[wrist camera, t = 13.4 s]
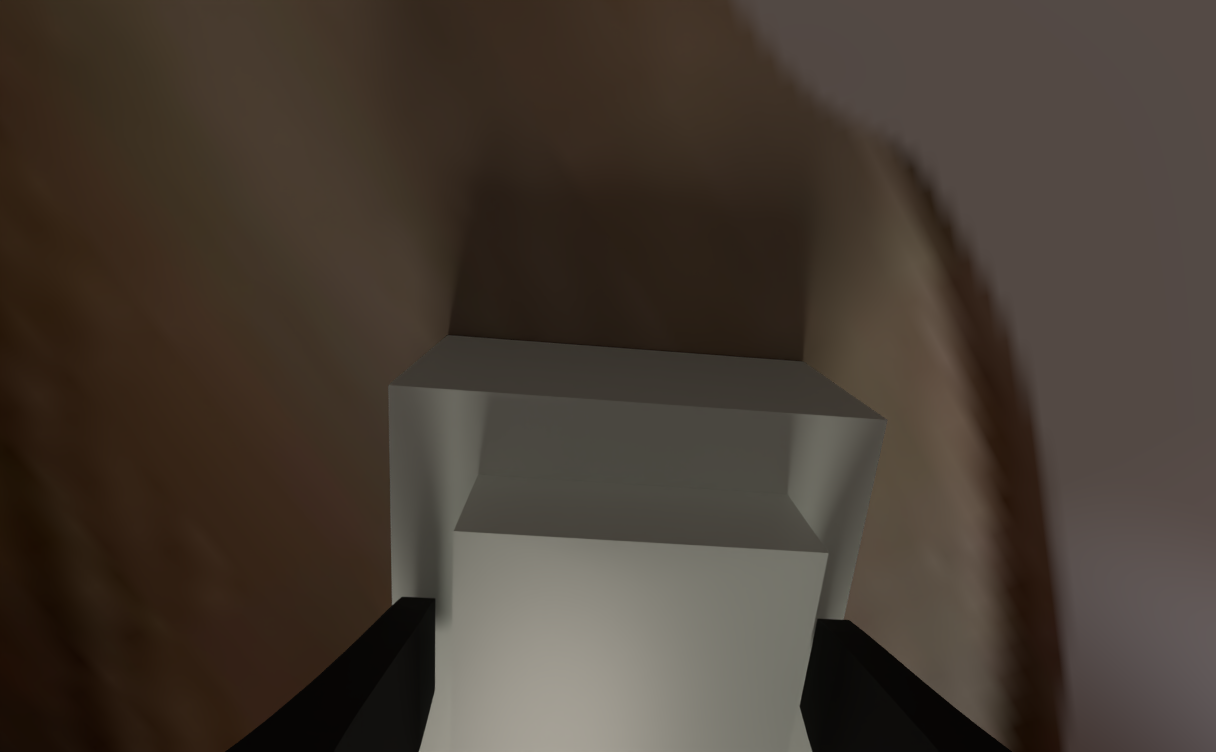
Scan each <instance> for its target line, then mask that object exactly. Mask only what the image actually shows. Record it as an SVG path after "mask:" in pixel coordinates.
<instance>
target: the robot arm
mask: <svg viewBox="0 0 1216 752" xmlns="http://www.w3.org/2000/svg"><path fill="white" fill-rule="evenodd" d="M434 692H435V598H419V597H401V598H400V599H399V600H397V601H396V602H395V603H394V604H393V605H392V606H391V607H390V608H389V609H388V610H387V611H386V612H385V613H384V614H383V615H382V616H381V617H380V618H379V619H378V620H377V621H376V622H375V623H374V624H373V625H372V626H371V627H370V628H369V629H368V630H367V631H366V632H365V633H364V634H363V635H362V636H361V637H360V638H359V639H358V640H356V641H355V642H354V643H353V644H352V645H351V646H350V647H349V648H348V649H347V650H346V651H345V652H344V653H343V654H342V655H341V656H339V657H338V658H337V659H336V660H335V661H334V662H333V663H332V664H331V665H330V666H329V667H328V668H326V669H325V670H324V671H323V672H322V673H321V674H320V675H319V676H318V677H317V678H316V679H314V680H313V681H312V682H311V683H310V684H309V685H308V686H306V687H305V688H304V689H303V690H302V691H300V692H299V693H298V694H297V695H296V696H295V697H293V698H292V699H291V700H290V701H289V702H287V703H286V704H285V705H284V706H283V707H282V708H280V709H279V710H278V711H277V712H276V713H274V714H273V715H272V716H271V717H270V718H268V719H267V720H266V721H265V722H263V723H262V724H261V725H260V726H258V727H257V728H256V729H255V730H253V731H252V732H251V733H249V734H248V735H247V736H246V737H244V738H243V739H242V740H240V741H239V742H238V743H236V744H235V745H234V746H232V747H231V748H230V749H228V750H227V751H225V752H419V750H420V746H421V743H422V739H423V735H424V731H425V728H426V724H427V720H428V716H429V712H430V708H431V704H432V700H433V696H434ZM799 707H800V710H801V714H802V718H803V721H804V725H805V728H806V732H807V736H808V739H809V742H810V746H811V749H812V752H1012V751H1010V750H1009V749H1008V748H1006V747H1005V746H1004V745H1002V744H1001V743H1000V742H998V741H997V740H996V739H995V738H993V737H992V736H991V735H989V734H988V733H987V732H985V731H984V730H983V729H981V728H980V727H979V726H977V725H976V724H975V723H974V722H972V721H971V720H970V719H969V718H967V717H966V716H965V715H963V714H962V713H961V712H960V711H958V710H957V709H956V708H955V707H953V706H952V705H951V704H950V703H949V702H947V701H946V700H945V699H944V698H942V697H941V696H940V695H939V694H938V693H936V692H935V691H934V690H933V689H932V688H930V687H929V686H928V685H927V684H925V683H924V682H923V681H922V680H921V679H920V678H918V677H917V676H916V675H915V674H914V673H912V672H911V671H910V670H909V669H908V668H906V667H905V666H904V665H903V664H902V663H901V662H899V661H898V660H897V659H896V658H895V657H894V656H892V655H891V654H890V653H889V652H888V651H886V650H885V649H884V648H883V647H882V646H881V645H879V644H878V643H877V642H876V641H875V640H873V639H872V638H871V637H870V636H869V635H867V634H866V633H865V632H864V631H862V630H861V629H860V628H859V627H857V626H856V625H855V624H853V623H852V622H851V621H849V620H837V619H817V623H816V628H815V633H814V638H813V643H812V648H811V653H810V657H809V662H808V667H807V672H806V677H805V682H804V686H803V691H802V696H801V701H800V706H799Z"/></svg>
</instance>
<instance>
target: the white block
mask: <svg viewBox="0 0 1216 752" xmlns="http://www.w3.org/2000/svg"><path fill="white" fill-rule="evenodd" d="M388 392H389V450H390V508H391V565H392V605H393V604H394V603H395V602H396V601H397V600H399V599H400V598H401V597H419V598H435V692H434V696H433V700H432V704H431V708H430V712H429V716H428V720H427V724H426V728H425V731H424V735H423V739H422V743H421V746H420V750H419V752H812V749H811V746H810V742H809V739H808V736H807V732H806V728H805V725H804V721H803V718H802V714H801V710H800V707H799V706H800V701H801V696H802V691H803V686H804V682H805V677H806V672H807V667H808V662H809V657H810V653H811V648H812V643H813V638H814V633H815V628H816V623H817V619H837V620H843V619H844V615H845V610H846V606H847V601H848V597H849V592H850V588H851V583H852V579H853V574H854V570H855V565H856V560H857V556H858V551H859V547H860V542H861V538H862V533H863V529H864V524H865V520H866V515H867V511H868V506H869V502H870V497H871V492H872V488H873V483H874V479H875V474H876V470H877V465H878V461H879V456H880V452H881V447H882V443H883V438H884V434H885V429H886V424H887V419H885V418H884V417H882V416H881V415H880V414H878V413H877V412H875V411H874V410H872V409H871V408H869V407H868V406H867V405H865V404H864V403H862V402H861V401H859V400H858V399H857V398H855V397H854V396H852V395H851V394H849V393H848V392H846V391H845V390H844V389H842V388H841V387H839V386H838V385H836V384H835V383H834V382H832V381H831V380H829V379H828V378H826V377H825V376H824V375H822V374H821V373H819V372H818V371H816V370H815V369H813V368H812V367H811V366H809V365H808V364H806V363H805V362H802V361H789V360H775V359H762V358H748V357H735V356H722V355H708V354H695V353H681V352H668V351H654V350H641V349H628V348H614V347H601V346H587V345H574V344H560V343H547V342H534V341H520V340H507V339H493V338H480V337H466V336H453V335H447V336H446V337H445V338H444V339H442V340H441V341H440V342H439V343H438V344H436V345H435V346H434V347H433V348H432V349H430V350H429V351H428V352H427V353H426V354H425V355H423V356H422V357H421V358H420V359H419V360H417V361H416V362H415V363H414V364H413V365H412V366H410V367H409V368H408V369H407V370H406V371H404V372H403V373H402V374H401V375H400V376H399V377H397V378H396V379H395V380H394V381H393V382H391V383H390V384H389V385H388Z"/></svg>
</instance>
